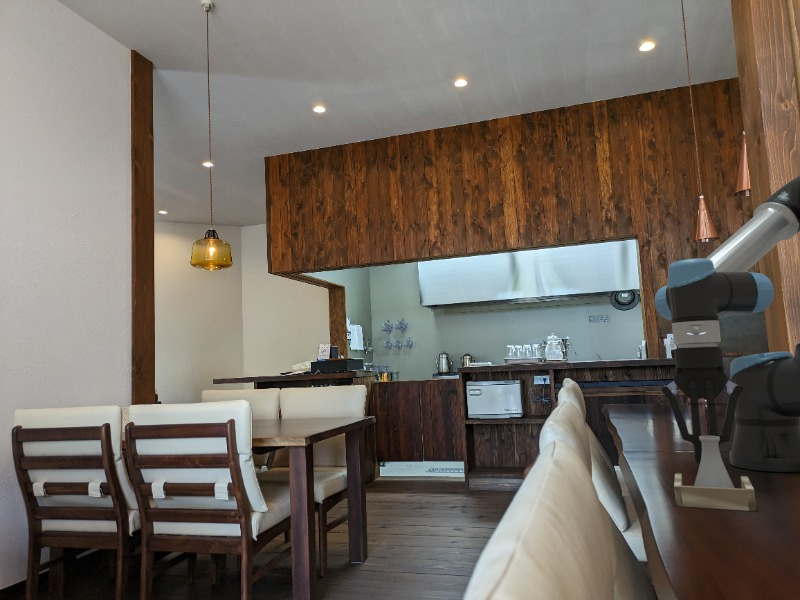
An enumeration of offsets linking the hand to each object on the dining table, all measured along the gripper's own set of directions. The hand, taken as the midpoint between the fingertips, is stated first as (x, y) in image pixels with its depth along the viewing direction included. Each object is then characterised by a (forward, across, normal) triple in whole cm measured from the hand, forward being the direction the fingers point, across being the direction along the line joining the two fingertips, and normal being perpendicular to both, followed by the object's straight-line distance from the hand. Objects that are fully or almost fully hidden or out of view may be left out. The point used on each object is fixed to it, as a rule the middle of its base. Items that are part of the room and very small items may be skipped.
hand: (709, 482), depth 100 cm
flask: (+2, 0, -4) cm, 4 cm away
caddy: (+2, 0, -5) cm, 6 cm away
